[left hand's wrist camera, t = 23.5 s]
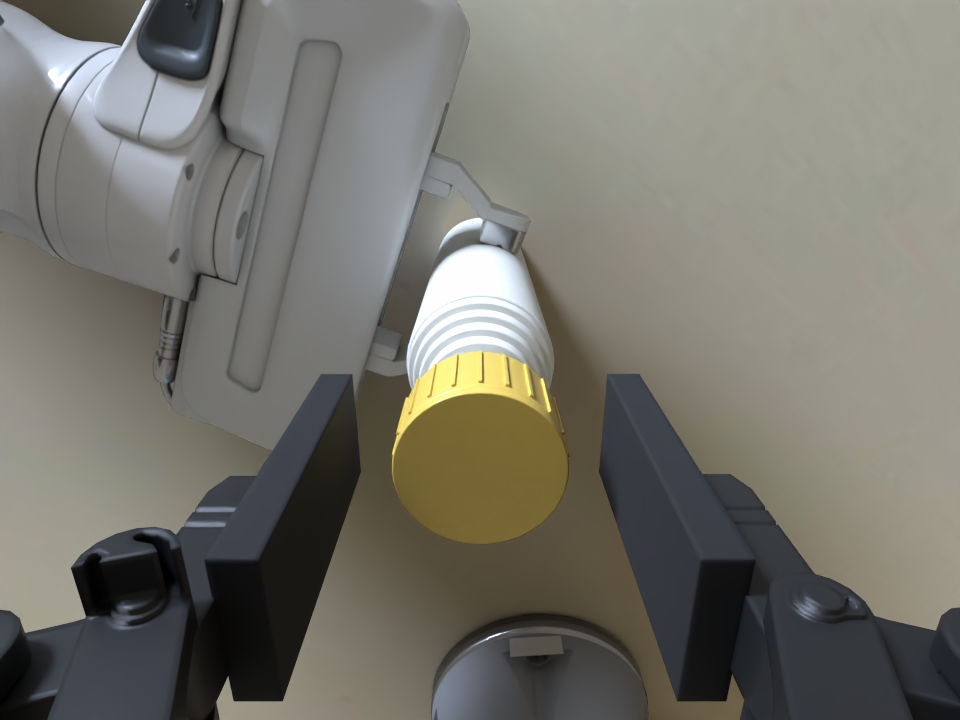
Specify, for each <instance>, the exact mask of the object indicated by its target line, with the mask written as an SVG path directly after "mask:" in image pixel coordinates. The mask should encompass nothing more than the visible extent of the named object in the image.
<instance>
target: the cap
mask: <svg viewBox="0 0 960 720" xmlns="http://www.w3.org/2000/svg"><path fill="white" fill-rule="evenodd" d="M564 434H565V432H564V429H563V425H562V421H561V418H560V414H559V410H558V407H557V403H556V399H555V397H552V395H551V393H550V391H549V389H548V388H547V386H546V383H545V380H544V379H543V378H542V379H541V378H540V377H539V376H538V375H537V374H536V373H535V372H534V371H533V370H532V369H530V368H529V367H528V364H526V363H525V364H523V363H522V362H520V361H518V360H516V359H513V358H511V357H509V356H506V354H503V355H502V354H498V353H492V352H482V351H478V352H468V353H463V354H455V355H454V356H452V357H450V358H447V359H445V360H443V361H441V362H439V363H438V364H436V363H435V364H433V366H432V368H430V369H429V370H428V371H427V372H426V373H425V374H424V375H423V376H422V377H421V378H420V379H417V380H416V382H415V386H414V387H413V389H412V391H411V393H410V395H409V397H406V399H405V402H404V406H403V410H402V414H401V417H400V421H399V425H398V428H397V432H396V435H397V437H396V441H395V445H394V449H393V452H392V458H393V461H392V475H393V481H394V485H395V489H396V492H397V494H398V496H399V498H400V500H401V502H402V504H403V505H404V507H405V508H406V510H407V511H408V512H409V513H410V514H411V516H412V517H413V518H414V519H415V520H416V521H418V522H419V523H420V524H421V525H422V526H424V527H425V528H427V529H428V530H430V531H431V532H433V533H435V534H437V535H439V536H441V537H444V538H447V539H449V540H453V541H457V542H461V543H468V544H494V543H499V542H505V541H508V540H511V539H515V538H517V537H519V536H522V535H524V534H526V533H528V532H529V531H531V530H533V529H534V528H536V527H537V526H538V525H540V524H541V523H542V522H543V521H544V520H546V519H547V518H548V517H549V516H550V514H551V513H552V512H553V511H554V510H555V508H556V507H557V505H558V504H559V502H560V500H561V498H562V496H563V494H564V492H565V489H566V485H567V481H568V475H569V460H568V457H569V452H568V448H567V445H566V441H565V437H564Z"/></svg>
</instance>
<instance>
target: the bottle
mask: <svg viewBox="0 0 960 720" xmlns="http://www.w3.org/2000/svg"><path fill="white" fill-rule="evenodd" d="M482 222H483V220H482V219H481V218H477V219H471V220H467V221H464V222H462V223H460V224H458V225H457V226H455V227H454V228H453V229H451V230H450V231H449V232H448V234H447V235H446V236H445V238H444V239H443V241H442V243H441V246H440V248H439V252H438V255H437V258H436V261H435V264H434V267H433V270H432V273H431V276H430V280H429V283H428V286H427V289H426V292H425V295H424V298H423V301H422V304H421V308H420V311H419V314H418V317H417V320H416V323H415V326H414V329H413V332H412V336H411V339H410V342H409V346H408V350H407V371H408V377H409V383H410V386H411V389H413V387H414V386H415V382H416V380H417V379H420V378H421V377H422V376H423V375H424V374H425V373H426V372H427V371H428V370H429V369H430V368H432V366H433V364H435V363H436V364H438V363H439V362H441V361H443V360H445V359H447V358H450V357H452V356H454V355H455V354H463V353H468V352H478V351H482V352H492V353H498V354H502V355H503V354H506V356H509V357H511V358H513V359H516V360H518V361H520V362H522V363H523V364H525V363H526V364H528V367H529V368H530V369H532V370H533V371H534V372H535V373H536V374H537V375H538V376H539V377H540V378H541V379H542V378H543V379H544V380H545V383H546V386H547V388H548V389H549V388H550V385H551V381H552V375H553V370H554V352H553V347H552V343H551V340H550V337H549V333H548V330H547V327H546V324H545V321H544V318H543V315H542V312H541V309H540V306H539V303H538V299H537V296H536V293H535V290H534V287H533V284H532V281H531V278H530V275H529V272H528V269H527V265H526V262H525V259H524V256H523V253H522V250H521V247H520V249H519V252H518V254H514V253H511V252H508V251H506V250H504V249H503V248H502V247H501V245H497V246H492V245H488V244H485V243H483V242H480V241H479V231H480V228H481V225H482Z"/></svg>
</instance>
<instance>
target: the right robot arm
mask: <svg viewBox="0 0 960 720" xmlns="http://www.w3.org/2000/svg"><path fill="white" fill-rule="evenodd" d="M469 40H470V28H469V24H468V22H467V19H466V17H465V15H464V12H463V10H462V8H461V7H460V5H459V3H458V1H457V0H146V1H145V3H144V5H143V7H142V9H141V11H140V13H139V15H138V17H137V19H136V21H135V23H134V25H133V27H132V29H131V31H130V33H129V34H128V36H127V38H126V40H125V42H124V44H123V45H122V46H120V45H116V44H112V43H103V42H89V41H80V40H76V39H72V38H69V37H66V36H64V35H62V34H60V33H58V32H56V31H54V30H52V29H51V28H50V27H48V26H47V25H45V24H44V23H43V22H41V21H40V20H38V19H37V18H35V17H34V16H32V15H31V14H29V13H27V12H25V11H24V10H22V9H19V8H17V7H15V6H13V5H10V4H8V3H5V2H2V1H0V232H1V233H8V234H13V235H16V236H19V237H22V238H24V239H26V240H28V241H30V242H32V243H33V244H35V245H37V246H38V247H39V248H41V249H42V250H44V251H45V252H47V253H49V254H50V255H52V256H54V257H56V258H58V259H60V260H62V261H65V262H67V263H70V264H73V265H76V266H79V267H82V268H85V269H88V270H91V271H94V272H97V273H100V274H103V275H107V276H110V277H113V278H116V279H119V280H122V281H125V282H128V283H131V284H135V285H138V286H141V287H144V288H147V289H150V290H153V291H156V292H159V293H162V294H165V296H164V301H163V309H162V315H161V323H160V341H159V347H158V351H157V352H156V354H155V357H154V362H153V376H154V379H155V380H156V381H158V382H160V385H161V389H162V392H163V394H164V396H165V398H166V400H167V401H168V402H169V403H170V404H171V408H172V409H173V410H174V411H175V412H177V413H178V414H180V415H182V416H185V417H187V418H191V419H194V420H197V421H201V422H204V423H207V424H211V425H215V426H218V427H219V428H221V429H223V430H225V431H228V432H230V433H232V434H234V435H236V436H238V437H240V438H242V439H245V440H247V441H249V442H251V443H254V444H256V445H259V446H261V447H263V448H266V449H268V450H271V451H273V449H274V448H275V446H276V444H277V443H278V441H279V440H280V438H281V437H282V435H283V433H284V432H285V430H286V429H287V427H288V425H289V424H290V422H291V421H292V419H293V418H294V416H295V414H296V413H297V411H298V410H299V408H300V406H301V405H302V403H303V402H304V400H305V399H306V397H307V395H308V394H309V392H310V391H311V389H312V387H313V386H314V384H315V383H316V381H317V380H318V378H319V376H320V375H321V374H353V386H354V398H355V405H356V402H357V398H358V395H359V392H360V389H361V386H362V382H363V379H364V376H365V373H366V370H368V371H371V372H374V373H377V374H381V375H384V376H387V377H393V376H398V375H403V374H408V371H407V350H408V346H409V345H402V346H400V342H401V339H402V335H401V333H398V332H395V331H392V330H389V329H386V328H384V327H381V326H380V325H381V322H382V318H383V315H384V312H385V309H386V306H387V302H388V299H389V296H390V293H391V290H392V286H393V283H394V280H395V277H396V274H397V271H398V267H399V264H400V261H401V258H402V255H403V251H404V248H405V245H406V242H407V239H408V235H409V232H410V229H411V226H412V223H413V219H414V216H415V213H416V210H417V207H418V203H419V200H420V197H421V194H422V191H425V192H428V193H431V194H434V195H436V196H439V197H442V198H446V197H448V195H449V193H450V191H451V188H452V185H453V186H454V187H455V188H456V190H457V191H458V192H459V193H460V194H461V195H462V197H463V198H464V199H465V200H466V201H467V203H468V204H469V205H470V206H471V207H472V208H473V210H474V211H475V212H476V213H477V214H478V215H479V217H480V218H481V219H482V220H483V222H482V225H481V228H480V231H479V241H480V242H483V243H485V244H488V245H492V246H497V245H501V247H502V248H503V249H504V250H506V251H508V252H511V253H514V254H518V252H519V249H520V247H521V244H522V242H523V239H524V237H525V235H526V232H527V229H528V227H529V224H530V222H531V221H530V219H529V217H527V216H526V215H524V214H522V213H519V212H516V211H514V210H511V209H508V208H506V207H503V206H500V205H498V204H495V203H492V202H491V200H490V198H489V196H488V195H487V194H486V193H485V191H484V190H483V189H482V188H481V187H480V185H479V184H478V183H477V182H476V181H475V179H474V178H473V177H472V176H471V174H470V173H469V172H468V171H467V170H466V168H465V167H464V166H463V165H462V163H461V162H459V161H456V160H453V159H451V158H448V157H445V156H443V155H440V154H437V153H435V149H436V146H437V143H438V139H439V136H440V133H441V130H442V127H443V123H444V120H445V117H446V114H447V111H448V107H449V104H450V101H451V98H452V95H453V91H454V88H455V85H456V82H457V79H458V75H459V72H460V69H461V66H462V63H463V59H464V56H465V53H466V50H467V47H468V43H469ZM173 382H174V387H173V391H172V389H171V385H170V383H173Z"/></svg>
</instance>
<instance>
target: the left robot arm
mask: <svg viewBox="0 0 960 720" xmlns="http://www.w3.org/2000/svg"><path fill="white" fill-rule="evenodd" d="M360 473H361V468H360V456H359V445H358V433H357V421H356V410H355V398H354V386H353V374H321V375H320V376H319V378H318V380H317V381H316V383H315V384H314V386H313V387H312V389H311V391H310V392H309V394H308V395H307V397H306V399H305V400H304V402H303V403H302V405H301V406H300V408H299V410H298V411H297V413H296V414H295V416H294V418H293V419H292V421H291V422H290V424H289V425H288V427H287V429H286V430H285V432H284V433H283V435H282V437H281V438H280V440H279V441H278V443H277V444H276V446H275V448H274V449H273V451H272V452H271V454H270V456H269V457H268V459H267V460H266V462H265V463H264V465H263V467H262V468H261V470H260V471H259V473H258V475H257V476H230V477H228V478H227V479H225V480H224V481H222V482H221V483H219V484H218V485H217V486H215V487H214V488H212V489H211V490H209V491H208V492H207V494H206V495H205V497H204V498H203V499H202V501H201V502H200V503H199V505H198V506H197V507H196V510H195V512H193V513H192V514H191V516H190V517H189V518H188V520H187V521H186V522H185V527H182V528H181V529H180V530H179V532H178V533H177V535H175V534H174V533H173V532H172V531H170V530H167V529H162V528H157V527H149V528H136V529H132V530H129V531H125V532H121V533H118V534H115V535H113V536H111V537H109V538H106V539H104V540H102V541H100V542H98V543H96V544H95V545H93V546H92V547H91V548H89V549H88V550H87V551H85V552H84V553H83V554H81V555H80V557H79V558H78V559H77V561H76V562H75V563H74V565H73V566H72V567H71V570H72V573H73V576H74V579H75V583H76V586H77V589H78V592H79V595H80V599H81V602H82V605H83V608H84V611H85V614H86V618H85V619H82V620H79V621H75V622H72V623H67V624H63V625H59V626H54V627H50V628H46V629H41V630H37V631H33V632H28V633H25V632H24V629H23V627H22V624H21V621H20V618H19V617H17V616H16V615H15V614H13V613H12V612H11V611H6V610H0V720H220V719H219V713H218V708H217V704H216V701H217V699H218V697H219V695H220V692H221V690H222V688H223V686H224V684H225V682H226V679H227V677H228V676H229V681H230V686H231V690H232V695H233V700H234V701H283V699H284V696H285V693H286V690H287V687H288V684H289V681H290V678H291V675H292V672H293V669H294V666H295V663H296V660H297V658H298V655H299V652H300V649H301V646H302V643H303V640H304V637H305V634H306V631H307V628H308V625H309V622H310V619H311V616H312V614H313V611H314V608H315V605H316V602H317V599H318V596H319V593H320V590H321V587H322V584H323V581H324V578H325V575H326V572H327V570H328V567H329V564H330V561H331V558H332V555H333V552H334V549H335V546H336V543H337V540H338V537H339V534H340V531H341V528H342V526H343V523H344V520H345V517H346V514H347V511H348V508H349V505H350V502H351V499H352V496H353V493H354V490H355V487H356V484H357V481H358V479H359V476H360ZM599 473H600V476H601V479H602V481H603V484H604V487H605V490H606V493H607V496H608V499H609V502H610V505H611V508H612V511H613V514H614V517H615V520H616V523H617V526H618V528H619V531H620V534H621V537H622V540H623V543H624V546H625V549H626V552H627V555H628V558H629V561H630V564H631V567H632V570H633V572H634V575H635V578H636V581H637V584H638V587H639V590H640V593H641V596H642V599H643V602H644V605H645V608H646V611H647V614H648V616H649V619H650V622H651V625H652V628H653V631H654V634H655V637H656V640H657V643H658V646H659V649H660V652H661V655H662V658H663V660H664V663H665V666H666V669H667V672H668V675H669V678H670V681H671V684H672V687H673V690H674V693H675V696H676V699H677V701H726V700H727V695H728V690H729V686H730V681H731V676H732V674H733V676H734V679H735V681H736V683H737V685H738V687H739V690H740V692H741V694H742V696H743V698H744V704H743V708H742V713H741V717H740V720H960V608H951V609H950V610H948V611H947V612H946V613H944V614H943V615H942V616H941V618H940V621H939V624H938V627H937V629H936V631H934V630H930V629H925V628H921V627H917V626H912V625H908V624H903V623H899V622H895V621H890V620H886V619H883V618H880V617H876V616H874V615H873V613H872V612H871V610H870V608H869V607H868V605H867V604H866V602H865V601H864V600H863V599H861V598H860V597H859V596H858V595H857V594H855V593H854V592H853V591H852V590H851V589H849V588H847V587H845V586H843V585H842V584H840V583H838V582H836V581H834V580H832V579H829V578H826V577H823V576H820V575H816V574H814V572H813V571H812V570H811V568H810V567H809V566H808V564H807V563H806V562H805V560H804V559H803V558H802V556H801V555H800V554H799V552H798V551H797V549H796V548H795V547H794V545H793V544H792V543H791V541H790V540H789V539H788V537H787V536H786V535H785V533H784V532H783V531H782V529H781V528H780V527H779V525H776V521H775V520H774V518H773V517H772V516H771V514H770V513H769V512H768V510H765V506H764V505H763V504H762V502H761V501H760V500H759V498H758V497H757V495H756V494H755V493H754V491H753V490H752V489H751V488H749V487H748V486H746V485H745V484H744V483H742V482H741V481H739V480H738V479H736V478H735V477H733V476H732V475H731V474H702V473H701V471H700V470H699V468H698V467H697V465H696V463H695V462H694V460H693V459H692V457H691V456H690V454H689V452H688V451H687V449H686V448H685V446H684V444H683V443H682V441H681V440H680V438H679V437H678V435H677V433H676V432H675V430H674V429H673V427H672V425H671V424H670V422H669V421H668V419H667V418H666V416H665V414H664V413H663V411H662V410H661V408H660V406H659V405H658V403H657V402H656V400H655V399H654V397H653V395H652V394H651V392H650V391H649V389H648V387H647V386H646V384H645V383H644V381H643V380H642V378H641V376H640V375H639V374H607V386H606V398H605V409H604V421H603V433H602V445H601V456H600V468H599ZM431 719H432V720H648V700H647V694H646V691H645V687H644V684H643V680H642V677H641V674H640V670H639V667H638V665H637V663H636V661H635V659H634V658H633V656H632V654H631V653H630V652H629V651H628V649H627V648H626V647H625V646H624V645H623V644H622V643H621V642H620V641H619V640H617V639H616V638H615V637H614V636H612V635H611V634H609V633H608V632H606V631H604V630H603V629H601V628H599V627H597V626H594V625H592V624H590V623H587V622H584V621H581V620H578V619H573V618H569V617H563V616H556V615H527V616H519V617H513V618H509V619H505V620H501V621H498V622H495V623H492V624H490V625H487V626H485V627H482V628H481V629H479V630H477V631H475V632H473V633H471V634H470V635H468V636H467V637H465V638H464V639H463V640H461V641H460V642H459V643H458V644H457V645H456V646H455V647H454V648H453V649H451V651H450V652H449V653H448V654H447V655H446V657H445V658H444V660H443V661H442V663H441V664H440V666H439V668H438V670H437V673H436V676H435V679H434V684H433V694H432V706H431Z"/></svg>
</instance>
